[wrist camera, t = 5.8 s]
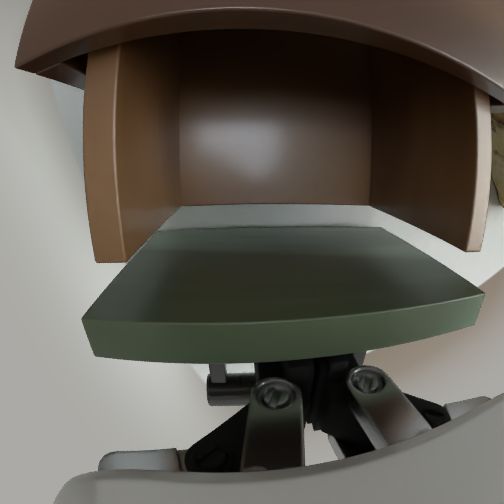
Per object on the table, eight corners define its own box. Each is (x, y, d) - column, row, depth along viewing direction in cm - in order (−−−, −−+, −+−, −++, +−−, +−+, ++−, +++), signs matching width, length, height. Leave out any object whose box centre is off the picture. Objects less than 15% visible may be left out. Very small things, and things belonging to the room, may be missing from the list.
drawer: (364, 324, 15) (426, 418, 8) (172, 334, 15) (142, 450, 7) (375, 15, 9) (459, -44, 2) (160, 2, 9) (111, -89, 1)
